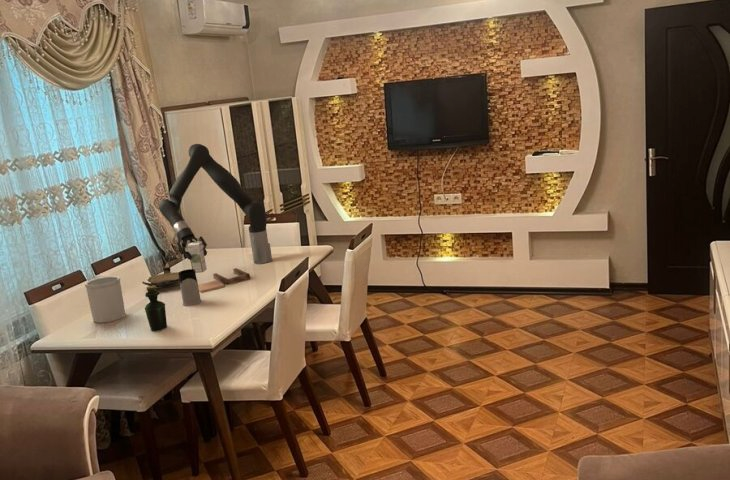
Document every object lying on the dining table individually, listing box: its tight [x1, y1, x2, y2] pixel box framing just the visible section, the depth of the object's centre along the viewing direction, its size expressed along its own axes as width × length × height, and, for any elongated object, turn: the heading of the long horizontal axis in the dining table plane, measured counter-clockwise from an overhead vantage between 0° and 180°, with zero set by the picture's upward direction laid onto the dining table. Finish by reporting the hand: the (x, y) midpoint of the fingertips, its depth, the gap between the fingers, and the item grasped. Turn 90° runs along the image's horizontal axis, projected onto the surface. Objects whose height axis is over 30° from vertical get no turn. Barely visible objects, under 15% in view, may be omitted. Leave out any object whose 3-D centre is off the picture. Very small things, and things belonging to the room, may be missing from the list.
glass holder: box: [178, 268, 203, 307], centre depth 328 cm, size 9×14×15 cm, turn 15°
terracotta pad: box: [198, 279, 226, 294], centre depth 350 cm, size 12×12×1 cm
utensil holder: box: [84, 275, 126, 324], centre depth 318 cm, size 15×15×18 cm
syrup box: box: [188, 241, 208, 274], centre depth 352 cm, size 6×6×14 cm
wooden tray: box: [212, 268, 251, 286], centre depth 361 cm, size 13×18×2 cm
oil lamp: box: [141, 262, 180, 289], centre depth 364 cm, size 22×30×8 cm
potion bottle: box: [144, 285, 168, 332], centre depth 294 cm, size 8×8×18 cm
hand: (198, 256), depth 350 cm, fingers closed on syrup box, 8 cm apart
